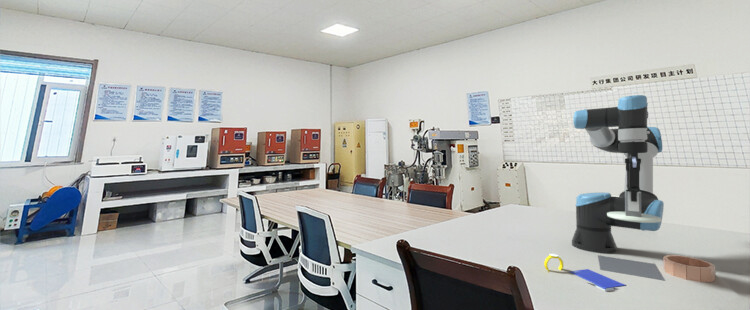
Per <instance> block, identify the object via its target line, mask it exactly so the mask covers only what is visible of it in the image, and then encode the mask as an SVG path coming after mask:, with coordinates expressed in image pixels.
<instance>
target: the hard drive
mask: <svg viewBox="0 0 750 310" xmlns="http://www.w3.org/2000/svg"><path fill="white" fill-rule="evenodd" d="M569 273H570V274H572V275H575V276H577V277H579V278H581V279H583V280H585V281H587V284H589V285H590V286H593V287H594V288H597V289H599V290H601V291H602V292H611V291H615V290H617V291H618V290H619V287H626V286H627V284H624V283H622V282H620V281H618V280H615V279H613V278H610V277H607V276H605V275H603V274H600V273H598V272H596V271H593V270H590V269H589V268H584V269H580V270H579V269H578V270H571V271H569Z"/></svg>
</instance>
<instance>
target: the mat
mask: <svg viewBox="0 0 750 310" xmlns="http://www.w3.org/2000/svg"><path fill="white" fill-rule="evenodd" d="M597 257H598V259H597V260H598V264H599V270H600V271H604V272H605V271H606V272H611V273H618V274H624V275H628V276H629V275H630V276H636V277H641V278H645V279H653V280H658V281H662V282H663V281H666V279H665V278H664V276H663V274H662V272H660V270H659V268H658V266H657V265H656V264H655V263H650V262H646V261H645V262H644V261H639V260H632V259H625V258H619V257H612V256H611V257H610V256H605V255H597Z"/></svg>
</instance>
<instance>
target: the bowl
mask: <svg viewBox="0 0 750 310" xmlns="http://www.w3.org/2000/svg"><path fill="white" fill-rule="evenodd" d="M662 258H663V271H664V272H665V273H666V274H668V275H670V276H673V277H674V278H675V277H676V278H679V279H682V280H683V279H684V280H687V281H692V282H699V283H713V282H714V281H716V266H715V264H713V263H712V262H708V261H707V260H704V259H700V258H695V257H691V256H685V255H677V254H676V255H675V254H667V255H664V256H663V257H662Z"/></svg>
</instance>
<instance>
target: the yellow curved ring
mask: <svg viewBox="0 0 750 310" xmlns="http://www.w3.org/2000/svg"><path fill="white" fill-rule="evenodd" d="M551 259H558V261H559V266H558V268H557V269H558V270H559V271H562V270H563V269H564V261H563V259H562V258H561V257H559V254H556V253H549V254H548V256H546V257H545V259H544V263H543V265H544V268H545V270H546V271H547V272H548V273H550V272H551V270H550V269H549V267H548V263H549V261H550V260H551Z"/></svg>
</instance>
